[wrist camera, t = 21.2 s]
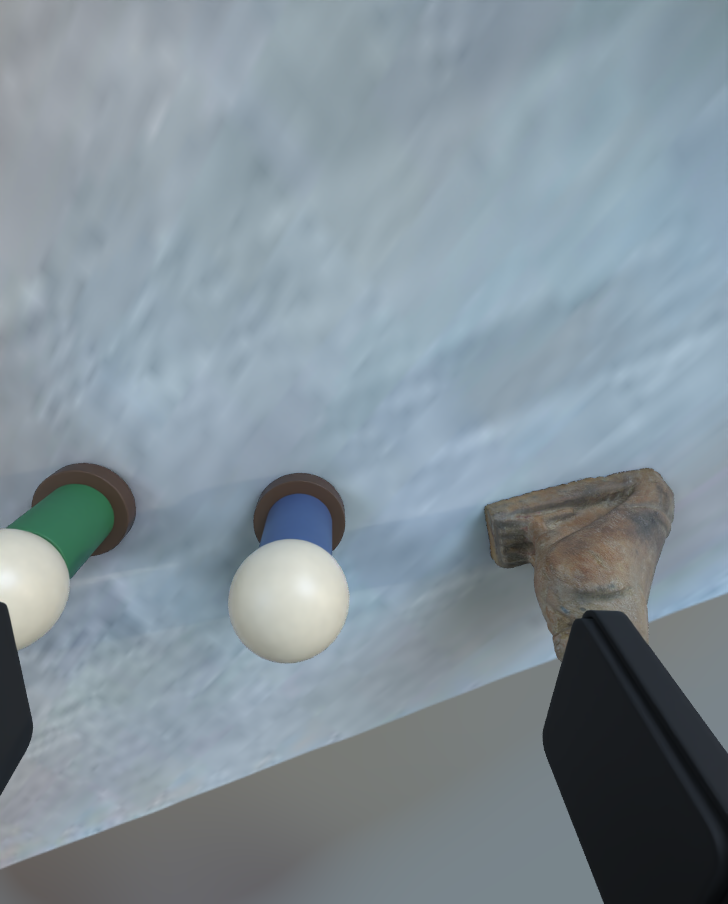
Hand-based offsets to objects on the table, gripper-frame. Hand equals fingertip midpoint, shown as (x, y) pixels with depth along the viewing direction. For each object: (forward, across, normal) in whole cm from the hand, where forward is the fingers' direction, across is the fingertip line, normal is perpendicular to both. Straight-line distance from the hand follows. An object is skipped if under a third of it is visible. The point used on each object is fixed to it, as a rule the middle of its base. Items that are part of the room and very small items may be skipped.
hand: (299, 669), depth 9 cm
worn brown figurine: (+24, -17, +10) cm, 31 cm away
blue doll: (+18, +1, +7) cm, 19 cm away
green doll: (+18, +14, +7) cm, 24 cm away
